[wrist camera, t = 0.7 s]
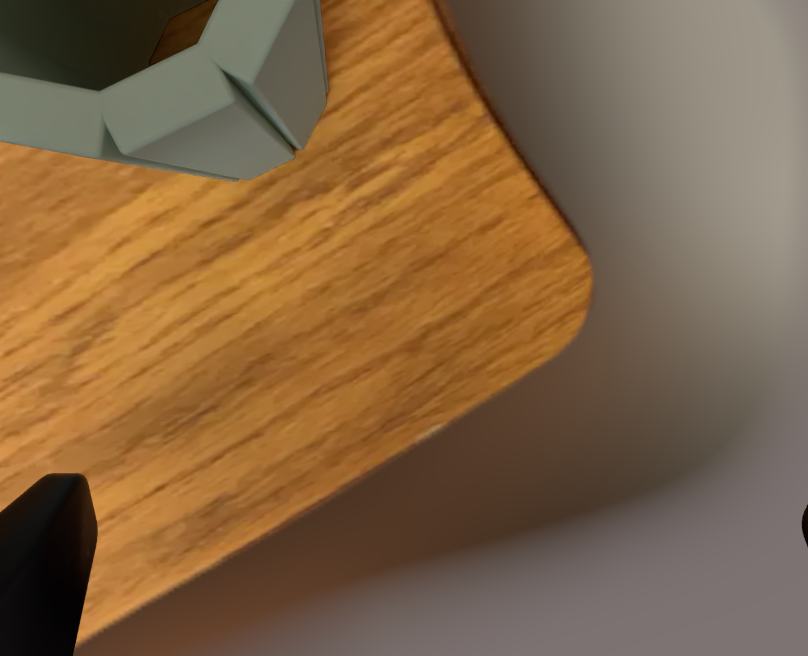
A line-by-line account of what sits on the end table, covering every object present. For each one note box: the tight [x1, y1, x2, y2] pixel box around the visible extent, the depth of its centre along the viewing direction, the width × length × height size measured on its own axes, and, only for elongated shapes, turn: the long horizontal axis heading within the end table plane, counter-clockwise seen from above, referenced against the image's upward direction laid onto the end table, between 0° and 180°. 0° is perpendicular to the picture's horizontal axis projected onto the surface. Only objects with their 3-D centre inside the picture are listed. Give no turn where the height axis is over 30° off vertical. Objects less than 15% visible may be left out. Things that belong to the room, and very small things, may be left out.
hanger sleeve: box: [0, 0, 329, 182], centre depth 15 cm, size 6×6×13 cm
